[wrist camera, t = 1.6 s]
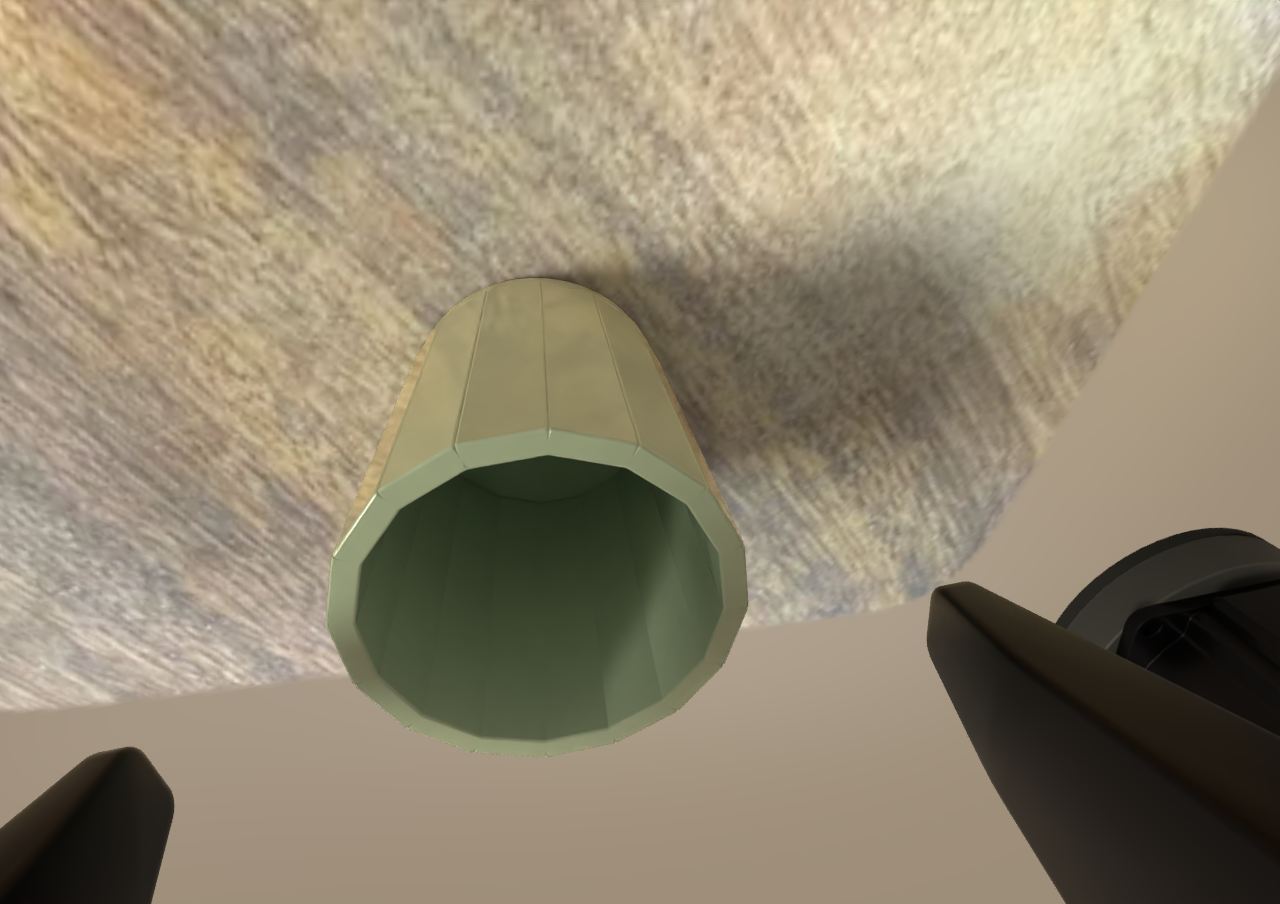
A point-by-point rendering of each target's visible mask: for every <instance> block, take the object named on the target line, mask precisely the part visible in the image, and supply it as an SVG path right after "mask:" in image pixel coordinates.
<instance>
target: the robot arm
mask: <svg viewBox="0 0 1280 904" xmlns="http://www.w3.org/2000/svg"><path fill="white" fill-rule="evenodd" d="M927 647H928V651H929V654H930V657H931V660H932V662H933V664H934V666H935V668H936V670H937V672H938V674H939V676H940V678H941V680H942V682H943V684H944V686H945V688H946V691H947V693H948V695H949V697H950V699H951V701H952V703H953V705H954V707H955V709H956V711H957V713H958V715H959V717H960V719H961V721H962V724H963V726H964V728H965V730H966V732H967V734H968V736H969V738H970V740H971V742H972V744H973V746H974V748H975V750H976V752H977V754H978V757H979V759H980V761H981V763H982V765H983V767H984V768H985V770H986V772H987V774H988V776H989V778H990V780H991V782H992V784H993V785H994V787H995V789H996V791H997V792H998V794H999V796H1000V797H1001V799H1002V801H1003V802H1004V804H1005V806H1006V807H1007V809H1008V811H1009V812H1010V814H1011V815H1012V817H1013V819H1014V820H1015V822H1016V824H1017V825H1018V827H1019V828H1020V830H1021V832H1022V833H1023V835H1024V836H1025V838H1026V840H1027V841H1028V843H1029V845H1030V846H1031V848H1032V849H1033V851H1034V853H1035V854H1036V856H1037V858H1038V859H1039V861H1040V863H1041V864H1042V866H1043V867H1044V869H1045V871H1046V872H1047V874H1048V875H1049V877H1050V879H1051V880H1052V882H1053V884H1054V885H1055V887H1056V888H1057V890H1058V892H1059V893H1060V895H1061V897H1062V898H1063V900H1064V901H1065V903H1066V904H1280V579H1278V580H1273V581H1269V582H1264V583H1259V584H1254V585H1249V586H1244V587H1239V588H1234V589H1229V590H1225V591H1220V592H1215V593H1210V594H1205V595H1200V596H1195V597H1190V598H1185V599H1180V600H1176V601H1171V602H1166V603H1161V604H1156V605H1151V606H1146V607H1143V608H1140V609H1138V610H1136V611H1135V612H1133V613H1132V614H1131V615H1130V616H1129V617H1128V618H1127V620H1126V622H1125V624H1124V628H1123V631H1122V634H1121V638H1120V641H1119V644H1118V648H1117V651H1116V654H1114V653H1112V652H1110V651H1108V650H1106V649H1104V648H1102V647H1100V646H1098V645H1096V644H1094V643H1092V642H1090V641H1089V640H1087V639H1085V638H1083V637H1081V636H1079V635H1077V634H1075V633H1073V632H1071V631H1069V630H1067V629H1065V628H1063V627H1061V626H1059V625H1057V624H1055V623H1052V622H1051V621H1049V620H1047V619H1045V618H1042V617H1041V616H1038V615H1037V614H1035V613H1033V612H1031V611H1029V610H1027V609H1025V608H1023V607H1021V606H1019V605H1017V604H1015V603H1013V602H1011V601H1009V600H1007V599H1005V598H1003V597H1001V596H999V595H997V594H995V593H993V592H991V591H989V590H987V589H985V588H983V587H981V586H979V585H977V584H975V583H972V582H959V583H955V584H949V585H944V586H939V587H937V588H935V590H934V591H933V593H932V596H931V602H930V612H929V620H928V630H927ZM173 814H174V798H173V794H172V791H171V790H170V788H169V786H168V785H167V784H166V782H165V781H164V780H163V778H162V777H161V776H160V774H159V773H158V771H157V770H156V769H155V767H154V766H153V765H152V763H151V762H150V761H149V759H148V758H147V757H146V755H145V754H144V753H143V752H142V751H141V750H140V749H137V748H135V747H124V748H118V749H113V750H109V751H103V752H99V753H96V754H93V755H91V756H89V757H87V758H86V759H85V760H83V761H82V762H81V763H79V764H78V765H77V766H76V767H75V768H73V769H72V770H71V771H70V772H68V773H67V774H66V775H65V776H64V777H62V778H61V779H60V780H59V781H58V782H56V783H55V784H54V785H53V786H52V787H50V788H49V789H48V790H47V791H45V792H44V793H43V794H42V795H41V796H39V797H38V798H37V799H36V800H35V801H33V802H32V803H31V804H30V805H28V806H27V807H26V808H25V809H23V810H22V811H21V812H20V813H19V814H17V815H16V816H15V817H14V818H13V819H11V820H10V821H9V822H8V823H6V824H5V825H4V826H3V827H2V828H1V829H0V904H151V902H152V897H153V894H154V890H155V886H156V882H157V878H158V874H159V870H160V866H161V863H162V859H163V854H164V851H165V847H166V843H167V839H168V835H169V831H170V827H171V823H172V819H173Z"/></svg>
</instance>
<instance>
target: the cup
mask: <svg viewBox="0 0 1280 904" xmlns="http://www.w3.org/2000/svg"><path fill="white" fill-rule="evenodd" d="M747 607H748V590H747V574H746V558H745V546H744V544H743V540H742V538H741V536H740V534H739V532H738V530H737V527H736V525H735V523H734V521H733V519H732V517H731V514H730V512H729V510H728V508H727V506H726V504H725V502H724V499H723V497H722V495H721V493H720V491H719V489H718V487H717V484H716V482H715V480H714V478H713V476H712V474H711V472H710V469H709V467H708V465H707V463H706V461H705V459H704V457H703V454H702V452H701V450H700V448H699V446H698V444H697V442H696V439H695V437H694V435H693V433H692V431H691V429H690V427H689V424H688V422H687V420H686V418H685V416H684V414H683V412H682V409H681V407H680V405H679V403H678V401H677V399H676V397H675V394H674V392H673V390H672V388H671V386H670V384H669V382H668V379H667V377H666V375H665V373H664V371H663V369H662V367H661V364H660V362H659V361H658V359H657V357H656V356H655V354H654V352H653V351H652V349H651V347H650V345H649V343H648V341H647V339H646V337H645V336H644V334H643V333H642V332H641V330H640V329H639V327H638V326H637V324H636V323H635V322H634V321H633V320H632V319H631V318H630V317H629V316H628V315H627V314H626V313H625V312H624V311H623V310H622V309H621V308H619V307H618V306H617V305H616V304H615V303H613V302H612V301H610V300H609V299H607V298H605V297H604V296H602V295H601V294H599V293H597V292H595V291H592V290H590V289H588V288H586V287H584V286H581V285H577V284H574V283H571V282H567V281H562V280H556V279H550V278H524V279H514V280H510V281H505V282H501V283H497V284H494V285H492V286H489V287H486V288H484V289H481V290H479V291H477V292H475V293H473V294H472V295H470V296H468V297H466V298H465V299H463V300H462V301H461V302H459V303H458V304H456V305H455V306H454V307H452V308H451V309H450V310H449V311H448V312H447V313H446V314H445V315H444V316H443V317H442V318H441V319H440V320H439V322H438V323H437V324H436V326H435V327H434V328H433V330H432V331H431V332H430V334H429V336H428V338H427V339H426V341H425V343H424V345H423V347H422V349H421V350H420V352H419V353H418V355H417V357H416V358H415V360H414V362H413V365H412V367H411V369H410V372H409V374H408V376H407V379H406V381H405V383H404V386H403V388H402V391H401V393H400V395H399V398H398V400H397V402H396V405H395V407H394V409H393V412H392V414H391V417H390V419H389V421H388V424H387V426H386V428H385V431H384V433H383V435H382V438H381V440H380V443H379V445H378V447H377V450H376V452H375V454H374V457H373V459H372V461H371V464H370V466H369V469H368V471H367V473H366V476H365V478H364V480H363V483H362V485H361V487H360V490H359V492H358V495H357V497H356V499H355V502H354V504H353V506H352V509H351V511H350V513H349V516H348V518H347V521H346V523H345V525H344V528H343V530H342V532H341V535H340V537H339V539H338V542H337V544H336V547H335V549H334V551H333V554H332V557H331V563H330V575H329V587H328V599H327V610H326V624H327V629H328V631H329V633H330V635H331V638H332V640H333V642H334V644H335V646H336V648H337V650H338V653H339V655H340V657H341V659H342V661H343V663H344V665H345V667H346V670H347V672H348V674H349V676H350V678H351V680H352V682H353V684H355V686H356V687H357V688H358V689H359V690H360V691H361V692H363V693H364V694H365V695H366V696H367V697H369V698H370V699H371V700H372V701H373V702H375V703H376V704H377V705H378V706H380V707H381V708H382V709H383V710H384V711H386V712H387V713H388V714H389V715H390V716H392V717H393V718H394V719H395V720H396V721H398V722H399V723H400V724H401V725H402V726H404V727H405V728H408V729H409V730H411V731H414V732H417V733H419V734H422V735H425V736H428V737H430V738H433V739H436V740H439V741H442V742H445V743H447V744H450V745H453V746H455V747H458V748H461V749H464V750H467V751H469V752H474V751H475V753H481V754H499V755H515V756H532V757H545V756H547V757H550V756H555V755H559V754H565V753H569V752H574V751H579V750H584V749H588V748H593V747H598V746H603V745H608V744H612V743H615V741H616V742H618V741H621V740H623V739H625V738H627V737H629V736H630V735H632V734H634V733H636V732H638V731H640V730H642V729H644V728H646V727H648V726H650V725H652V724H654V723H655V722H658V721H659V720H662V719H664V718H665V717H667V716H669V715H671V714H673V713H675V712H676V711H677V710H679V709H680V708H681V707H682V706H683V705H684V704H685V703H686V702H687V701H688V700H689V699H690V698H691V697H692V696H693V695H694V694H695V693H696V692H697V691H698V690H699V689H700V688H701V687H702V686H703V685H704V684H705V683H706V682H707V681H708V680H709V679H710V678H711V677H712V676H713V675H714V674H715V673H716V672H717V671H718V670H719V669H720V668H721V667H722V666H723V664H724V663H725V661H726V659H727V657H728V654H729V652H730V649H731V647H732V645H733V642H734V640H735V638H736V635H737V633H738V631H739V628H740V626H741V624H742V621H743V619H744V617H745V614H746V612H747Z"/></svg>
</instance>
